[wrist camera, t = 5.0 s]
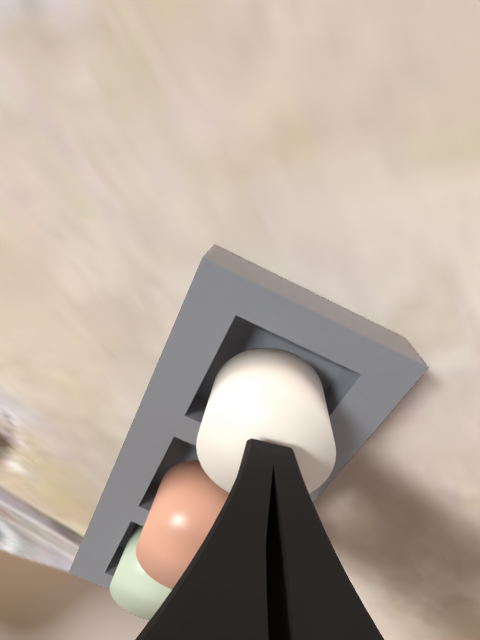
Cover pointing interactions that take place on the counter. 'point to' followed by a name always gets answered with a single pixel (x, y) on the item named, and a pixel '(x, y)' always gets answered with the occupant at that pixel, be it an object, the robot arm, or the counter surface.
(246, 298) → the grey slotted tray
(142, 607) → the button sage
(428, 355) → the counter surface
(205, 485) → the button terracotta
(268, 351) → the button cream
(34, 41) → the counter surface
